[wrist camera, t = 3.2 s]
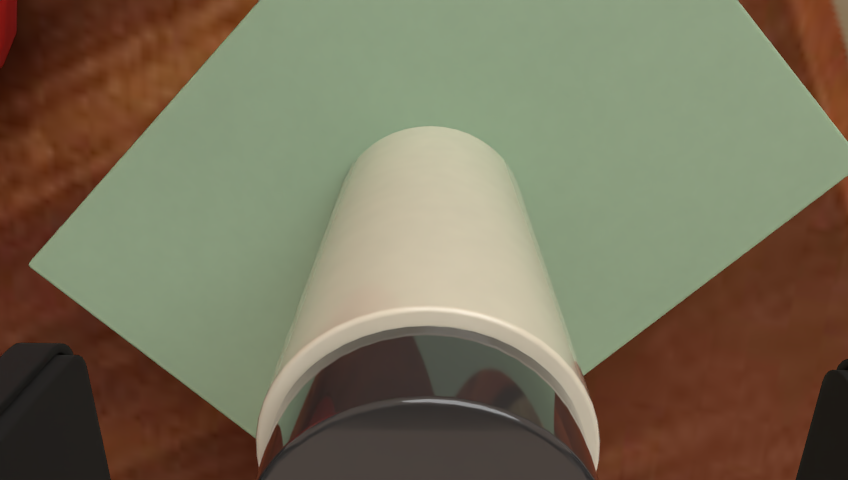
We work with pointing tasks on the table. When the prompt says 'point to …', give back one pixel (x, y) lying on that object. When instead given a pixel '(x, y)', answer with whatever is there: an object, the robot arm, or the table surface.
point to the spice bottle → (428, 332)
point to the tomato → (7, 27)
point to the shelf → (457, 109)
